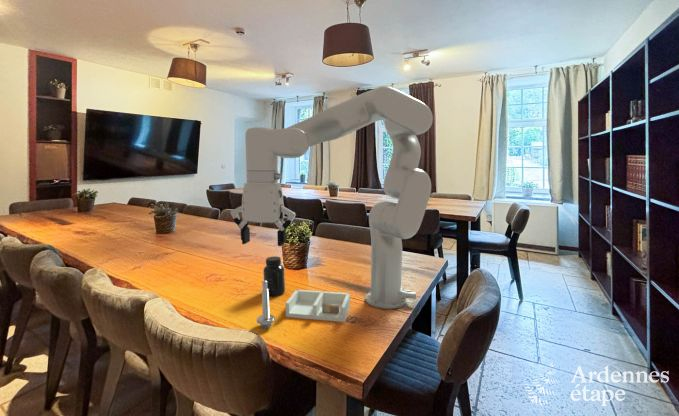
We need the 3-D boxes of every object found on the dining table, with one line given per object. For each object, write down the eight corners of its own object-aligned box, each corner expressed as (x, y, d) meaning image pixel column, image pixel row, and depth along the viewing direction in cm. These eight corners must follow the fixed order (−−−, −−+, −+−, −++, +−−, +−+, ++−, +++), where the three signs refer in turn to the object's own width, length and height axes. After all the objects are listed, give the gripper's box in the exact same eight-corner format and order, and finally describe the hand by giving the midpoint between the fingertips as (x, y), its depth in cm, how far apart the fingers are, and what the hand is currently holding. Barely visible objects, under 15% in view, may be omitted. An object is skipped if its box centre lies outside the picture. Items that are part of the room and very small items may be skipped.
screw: (278, 323, 91) (268, 332, 87) (263, 320, 93) (253, 328, 88) (277, 278, 89) (267, 284, 85) (262, 275, 91) (251, 281, 86)
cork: (339, 303, 96) (337, 306, 94) (339, 311, 96) (337, 314, 94) (324, 302, 97) (322, 304, 94) (324, 310, 97) (322, 313, 94)
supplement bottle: (273, 287, 117) (272, 254, 115) (289, 291, 113) (288, 257, 112) (259, 294, 111) (258, 259, 109) (275, 298, 108) (274, 262, 106)
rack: (350, 306, 102) (350, 293, 101) (344, 322, 92) (344, 307, 91) (296, 302, 105) (296, 289, 104) (285, 317, 95) (285, 303, 94)
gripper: (299, 177, 86) (299, 242, 89) (237, 176, 89) (239, 238, 92) (289, 179, 79) (290, 249, 81) (222, 177, 82) (225, 245, 84)
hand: (263, 243), depth 87 cm, fingers open, 9 cm apart
